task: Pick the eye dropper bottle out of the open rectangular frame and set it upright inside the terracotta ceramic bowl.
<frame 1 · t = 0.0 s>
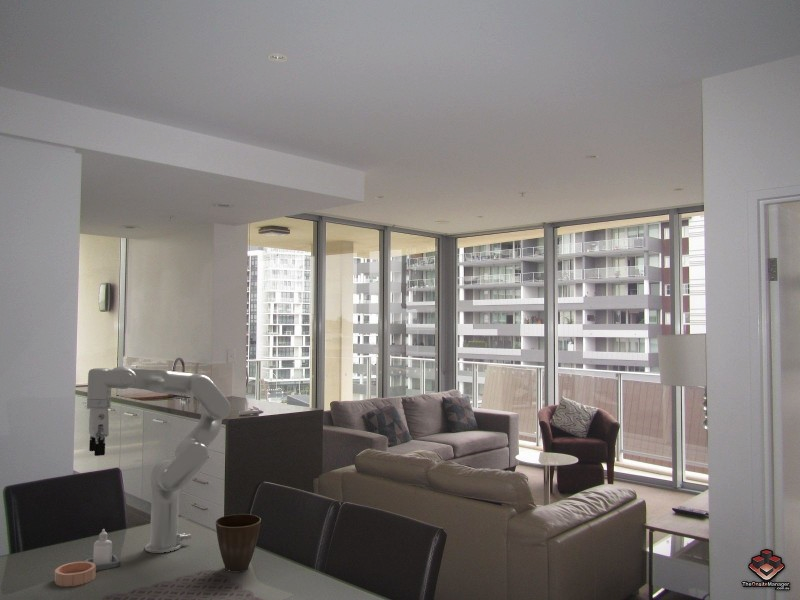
hand: (96, 453, 221), 37 cm above the table, tool pointing down, fingers open, 9 cm apart
bowl: (75, 579, 203), on the table
plant pot: (237, 568, 214), on the table
eye dropper bottle: (102, 565, 215), resting in open rectangular frame
open rectangular frame: (102, 565, 215), on the table
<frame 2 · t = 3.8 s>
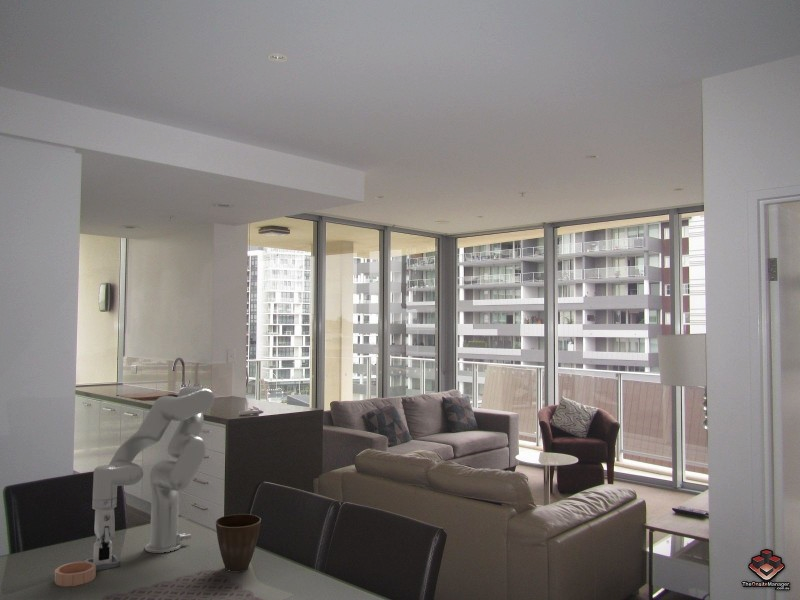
hand: (102, 556, 215), 3 cm above the table, tool pointing down, fingers closed on eye dropper bottle, 4 cm apart
eye dropper bottle: (102, 565, 215), resting in open rectangular frame, touching gripper
everything else where it was.
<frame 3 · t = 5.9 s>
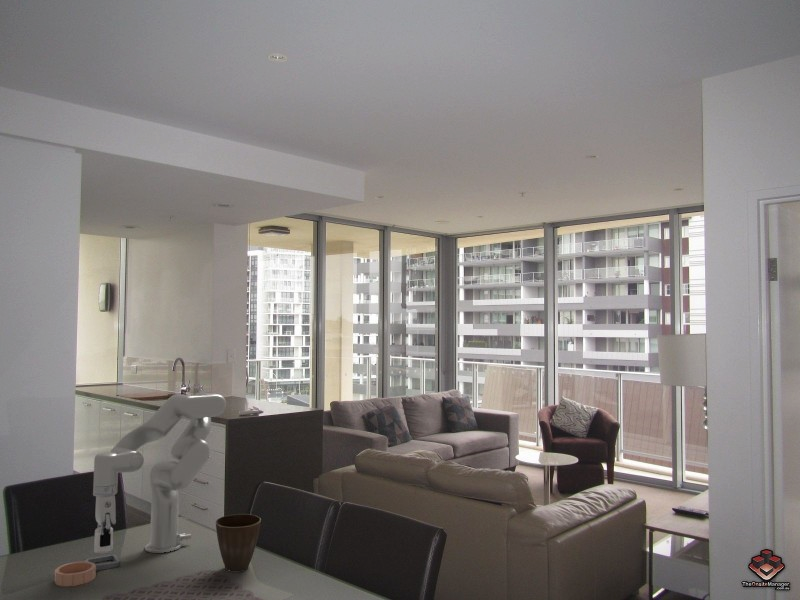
hand: (103, 543, 216), 7 cm above the table, tool pointing down, fingers closed on eye dropper bottle, 4 cm apart
eye dropper bottle: (103, 552, 216), point 4 cm above the table, touching gripper
everything else where it was.
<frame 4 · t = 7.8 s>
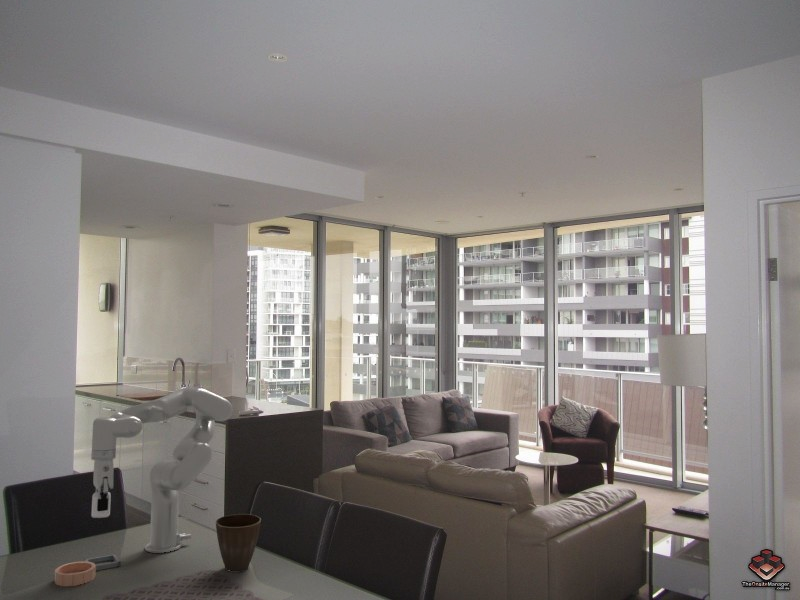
hand: (101, 508, 215), 19 cm above the table, tool pointing down, fingers closed on eye dropper bottle, 4 cm apart
eye dropper bottle: (100, 517, 214), point 16 cm above the table, touching gripper
everything else where it was.
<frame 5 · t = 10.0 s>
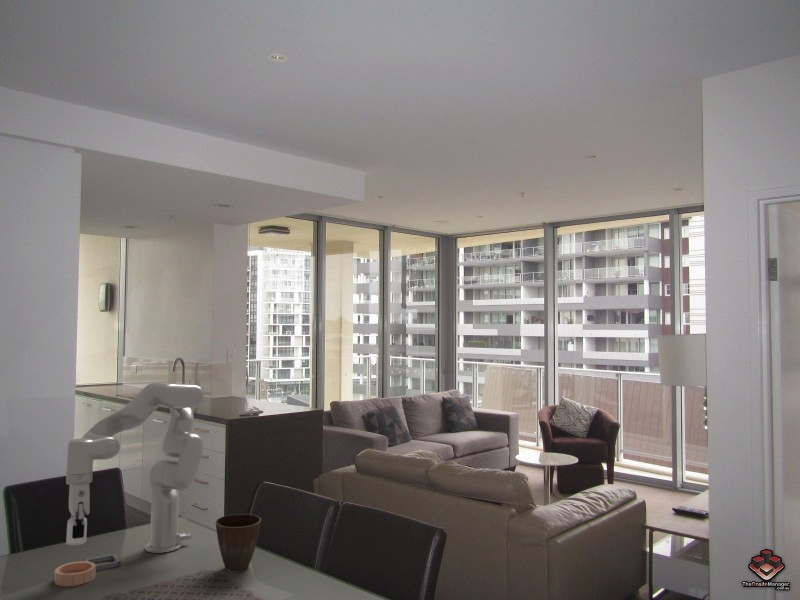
hand: (76, 535, 203), 14 cm above the table, tool pointing down, fingers closed on eye dropper bottle, 4 cm apart
eye dropper bottle: (76, 544, 203), point 11 cm above the table, touching gripper
everything else where it was.
when the fingers open (5 cm above the table, at t = 11.8 s): eye dropper bottle drops 1 cm, resting on bowl.
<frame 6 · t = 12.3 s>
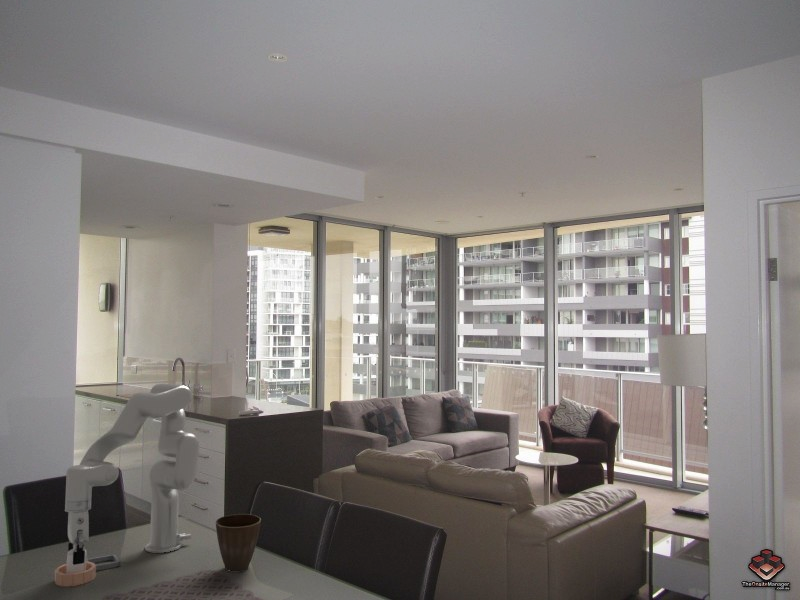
hand: (76, 559, 203), 6 cm above the table, tool pointing down, fingers open, 9 cm apart
eye dropper bottle: (75, 575, 203), point 1 cm above the table, touching bowl
everything else where it was.
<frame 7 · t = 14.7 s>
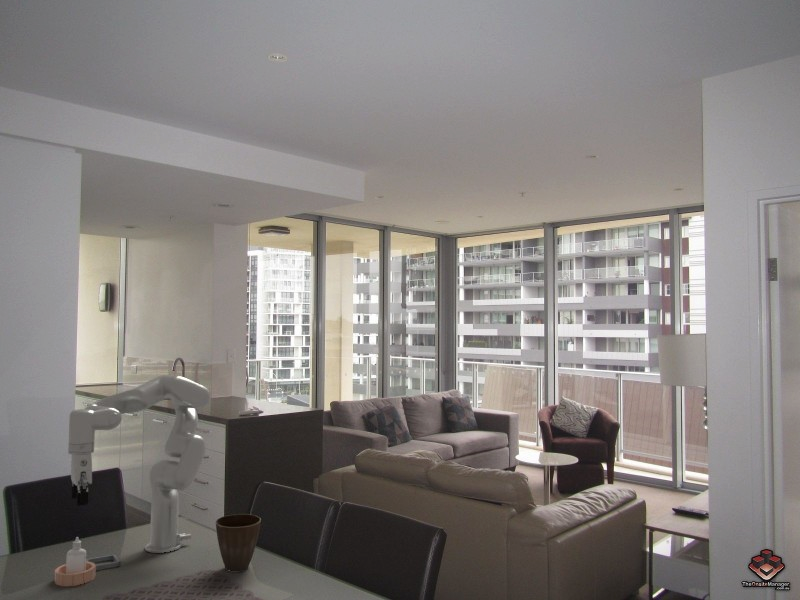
hand: (79, 501, 205), 24 cm above the table, tool pointing down, fingers open, 9 cm apart
nothing on the table moved.
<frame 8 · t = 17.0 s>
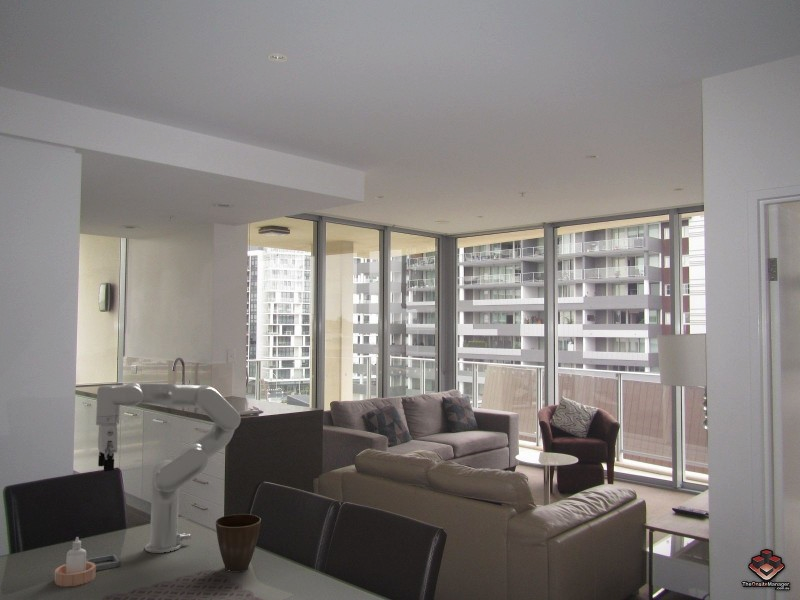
hand: (105, 468, 226), 30 cm above the table, tool pointing down, fingers open, 9 cm apart
nothing on the table moved.
at the end: eye dropper bottle 0.1 cm off-centre on the bowl, point 0.8 cm above the bowl's base; eye dropper bottle tilted 0°; the gripper is holding nothing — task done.
